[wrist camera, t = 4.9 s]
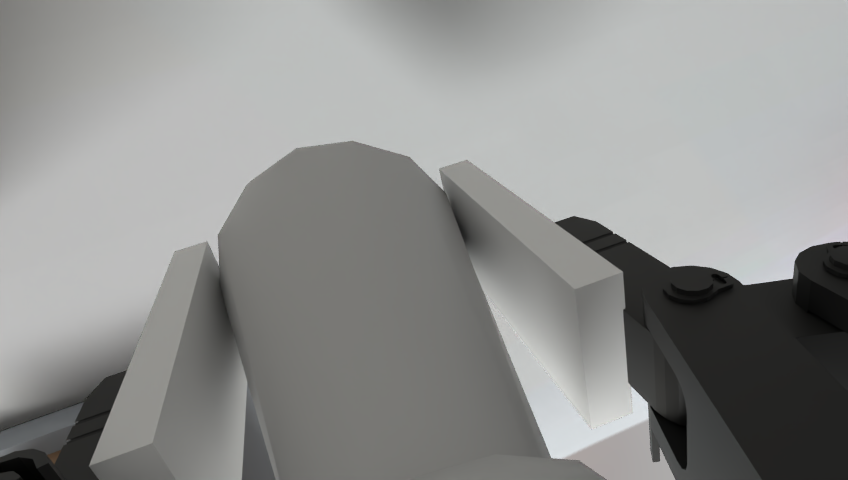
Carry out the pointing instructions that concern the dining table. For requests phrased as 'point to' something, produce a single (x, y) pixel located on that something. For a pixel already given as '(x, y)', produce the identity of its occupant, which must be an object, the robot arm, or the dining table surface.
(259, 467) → the build plate
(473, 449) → the salt shaker
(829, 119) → the dining table surface
